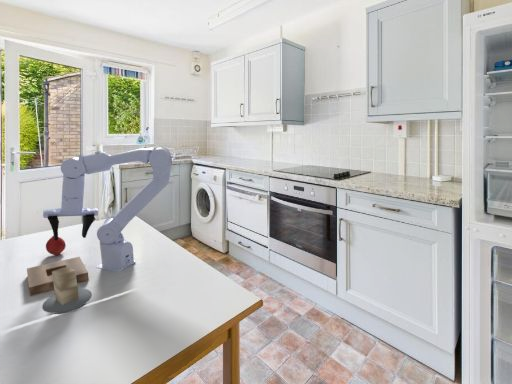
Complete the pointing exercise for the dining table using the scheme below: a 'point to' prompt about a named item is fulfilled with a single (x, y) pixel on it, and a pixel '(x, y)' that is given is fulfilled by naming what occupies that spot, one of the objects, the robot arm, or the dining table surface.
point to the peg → (65, 285)
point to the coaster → (55, 306)
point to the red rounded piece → (55, 245)
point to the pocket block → (42, 274)
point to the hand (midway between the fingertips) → (70, 237)
